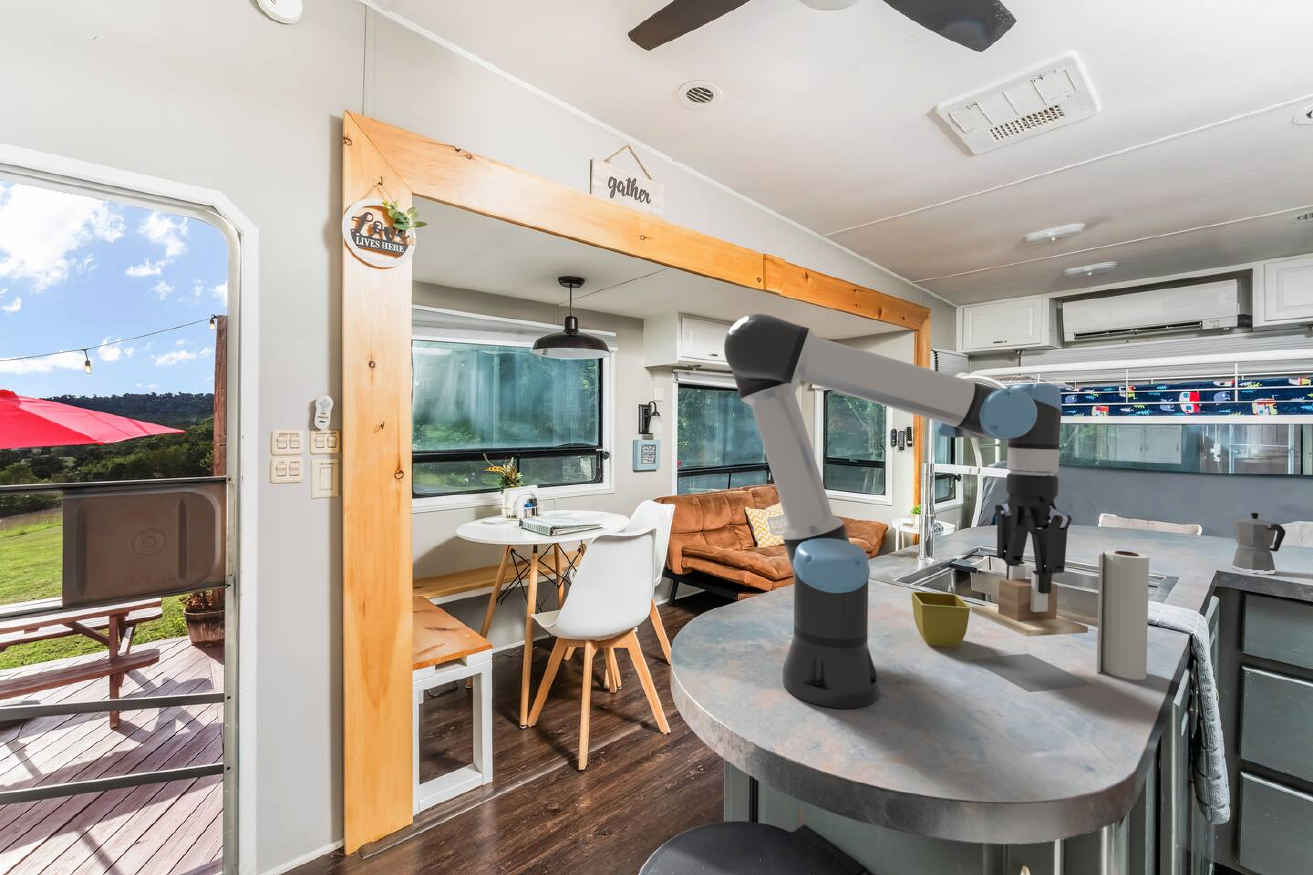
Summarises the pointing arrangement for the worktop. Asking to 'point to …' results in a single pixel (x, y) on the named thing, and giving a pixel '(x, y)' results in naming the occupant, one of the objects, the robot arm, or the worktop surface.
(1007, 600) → the lid
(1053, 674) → the mat
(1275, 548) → the coffeepot
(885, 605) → the worktop surface
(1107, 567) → the paper towel roll
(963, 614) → the flower pot
